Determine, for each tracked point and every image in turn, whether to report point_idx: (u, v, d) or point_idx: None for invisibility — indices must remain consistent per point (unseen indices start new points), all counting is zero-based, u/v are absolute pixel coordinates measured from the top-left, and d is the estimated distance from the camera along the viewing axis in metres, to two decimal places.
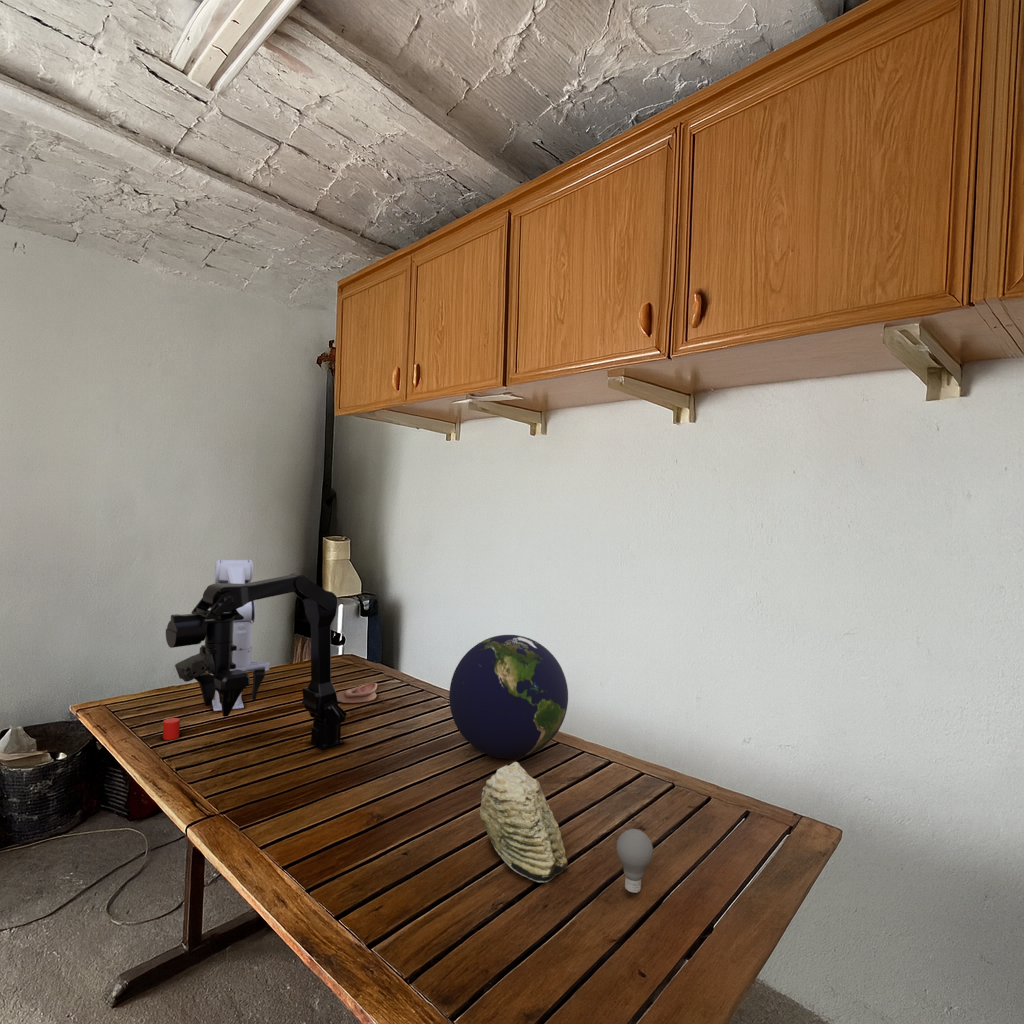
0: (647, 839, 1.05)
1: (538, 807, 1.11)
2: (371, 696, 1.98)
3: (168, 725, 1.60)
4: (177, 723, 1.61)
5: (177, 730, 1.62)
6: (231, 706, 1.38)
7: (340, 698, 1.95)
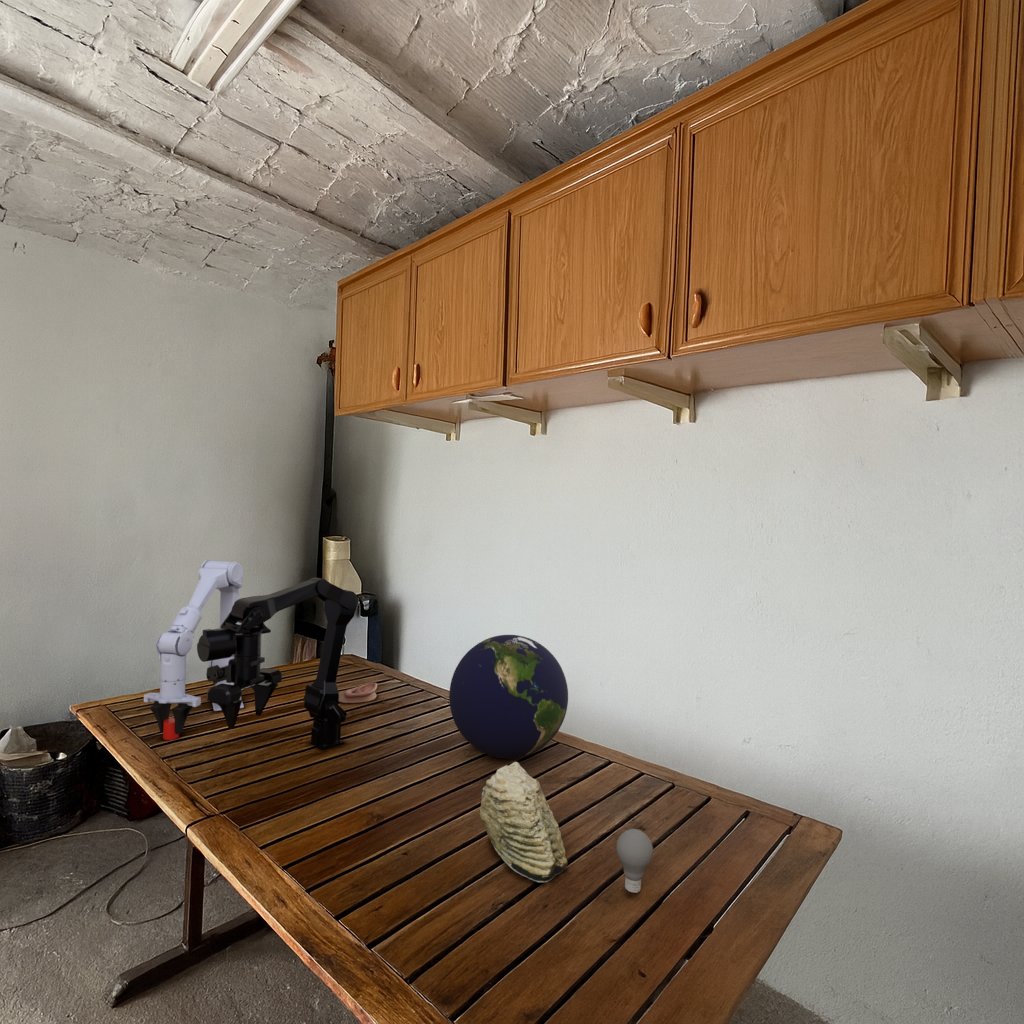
0: (647, 839, 1.05)
1: (538, 807, 1.11)
2: (371, 696, 1.98)
3: (169, 725, 1.60)
4: None
5: None
6: (233, 720, 1.40)
7: (340, 698, 1.95)
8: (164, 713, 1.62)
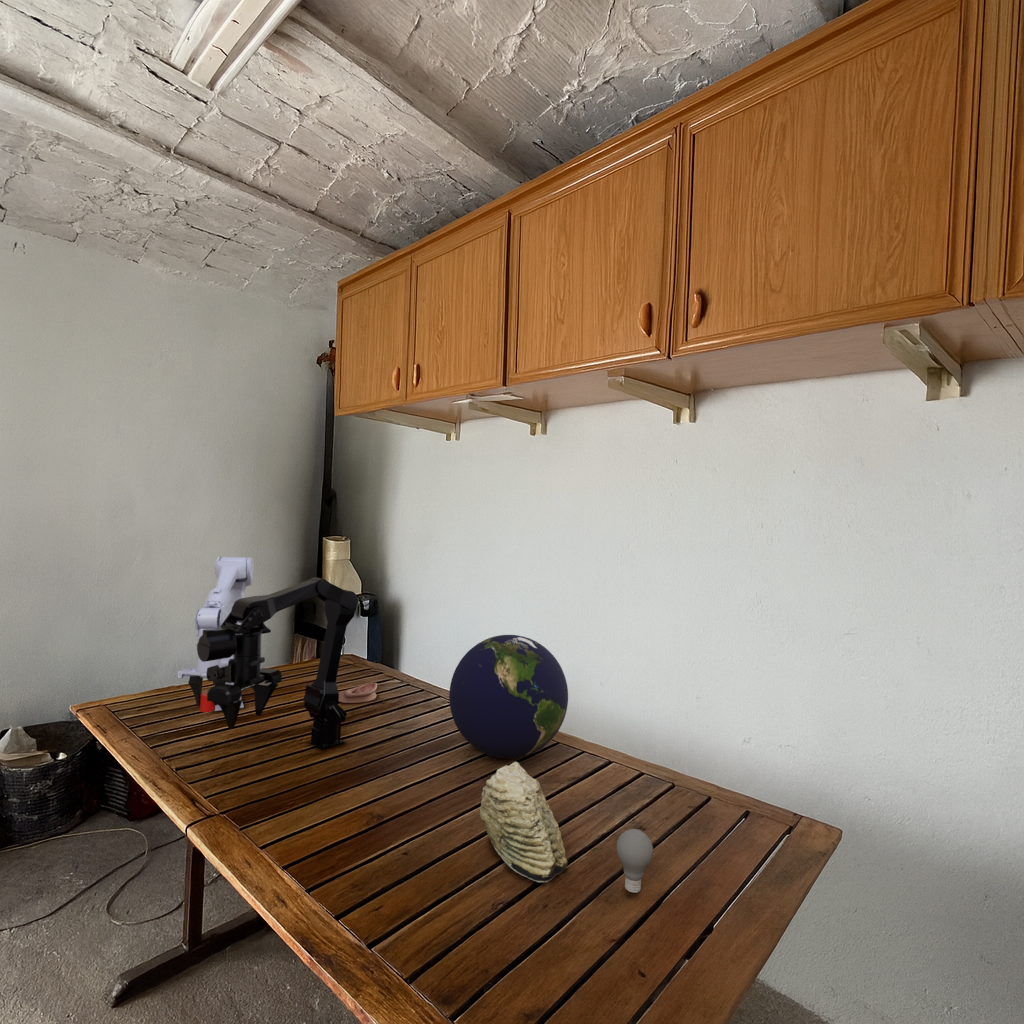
0: (647, 839, 1.05)
1: (538, 807, 1.11)
2: (371, 696, 1.98)
3: None
4: None
5: None
6: (233, 720, 1.40)
7: (340, 698, 1.95)
8: (200, 687, 1.66)
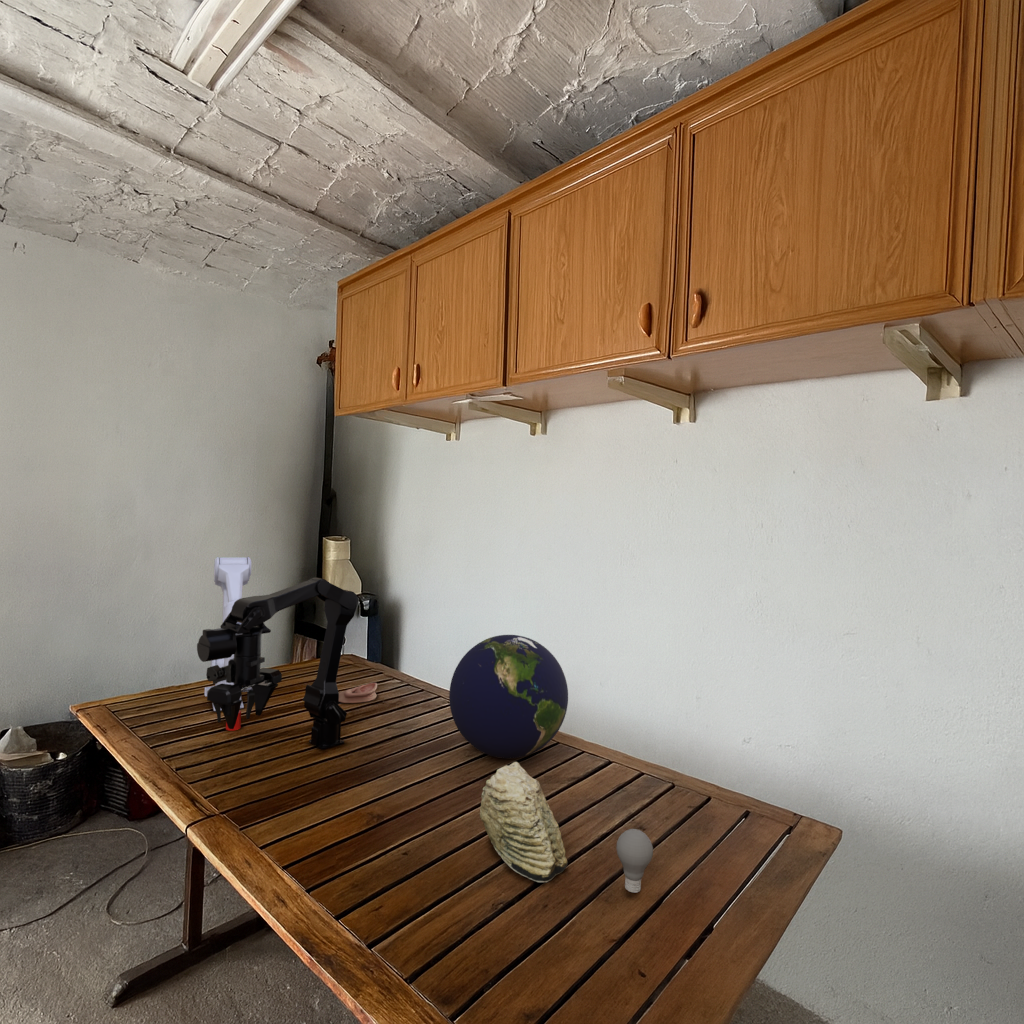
0: (647, 839, 1.05)
1: (538, 807, 1.11)
2: (371, 696, 1.98)
3: None
4: None
5: (240, 720, 1.71)
6: (233, 720, 1.40)
7: (340, 698, 1.95)
8: None
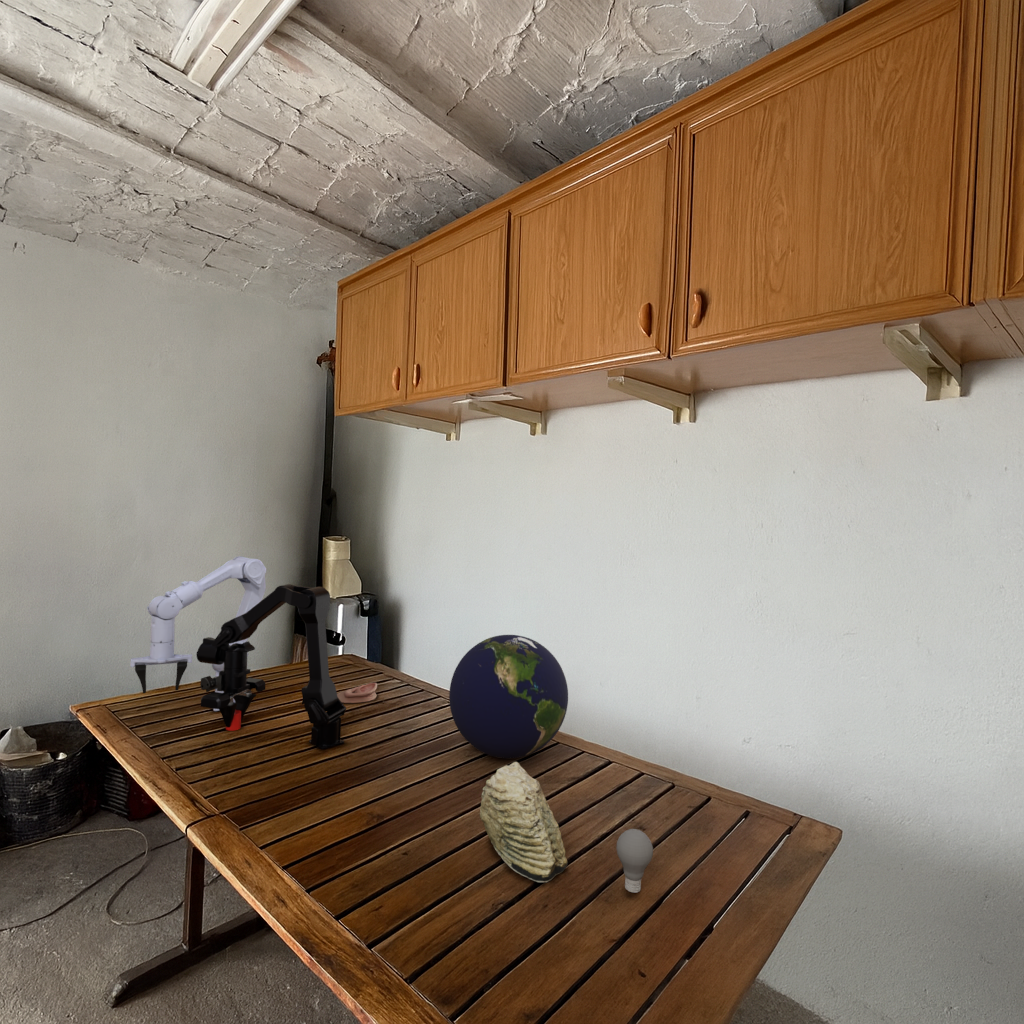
0: (647, 839, 1.05)
1: (538, 807, 1.11)
2: (371, 696, 1.98)
3: (236, 716, 1.69)
4: None
5: (240, 720, 1.71)
6: (229, 720, 1.67)
7: (340, 698, 1.95)
8: (145, 675, 1.70)
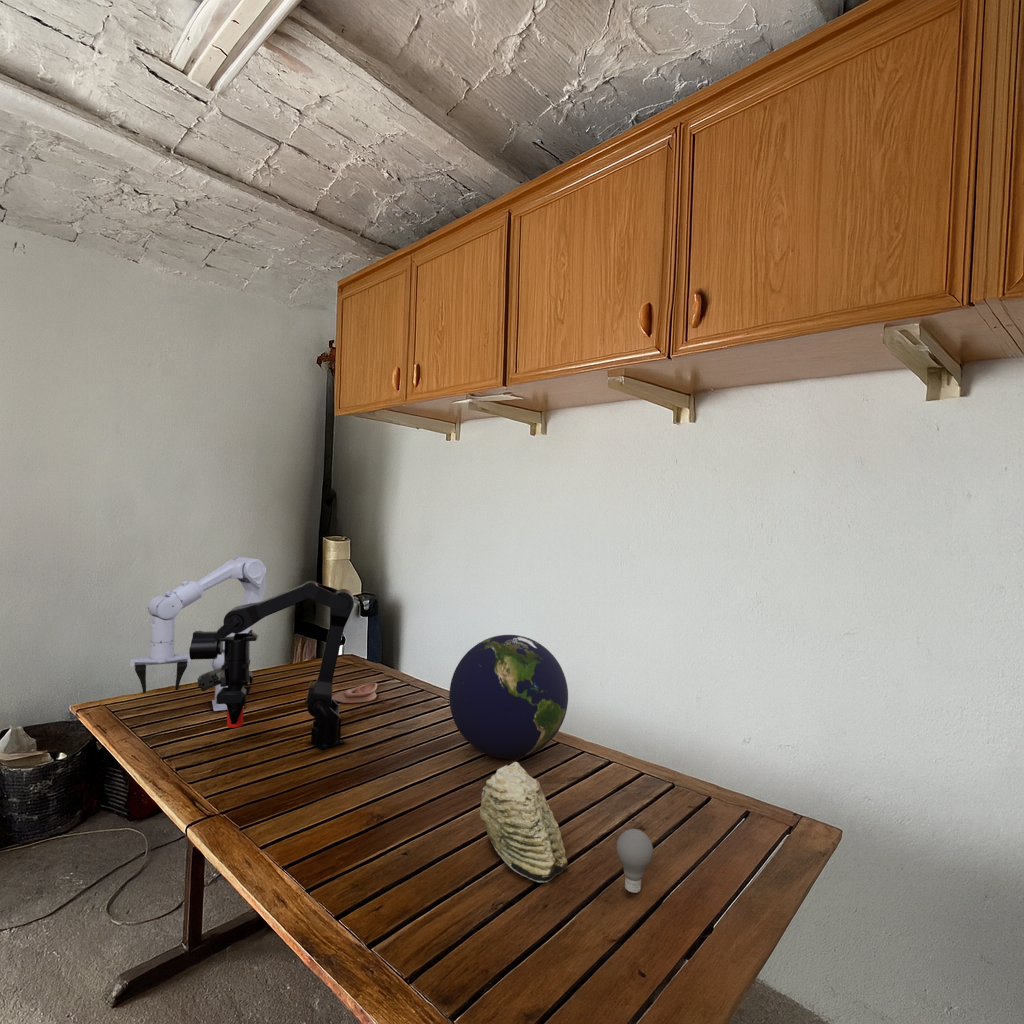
0: (647, 839, 1.05)
1: (538, 807, 1.11)
2: (371, 696, 1.98)
3: (241, 711, 1.56)
4: None
5: None
6: (238, 715, 1.55)
7: (340, 698, 1.95)
8: (145, 675, 1.70)
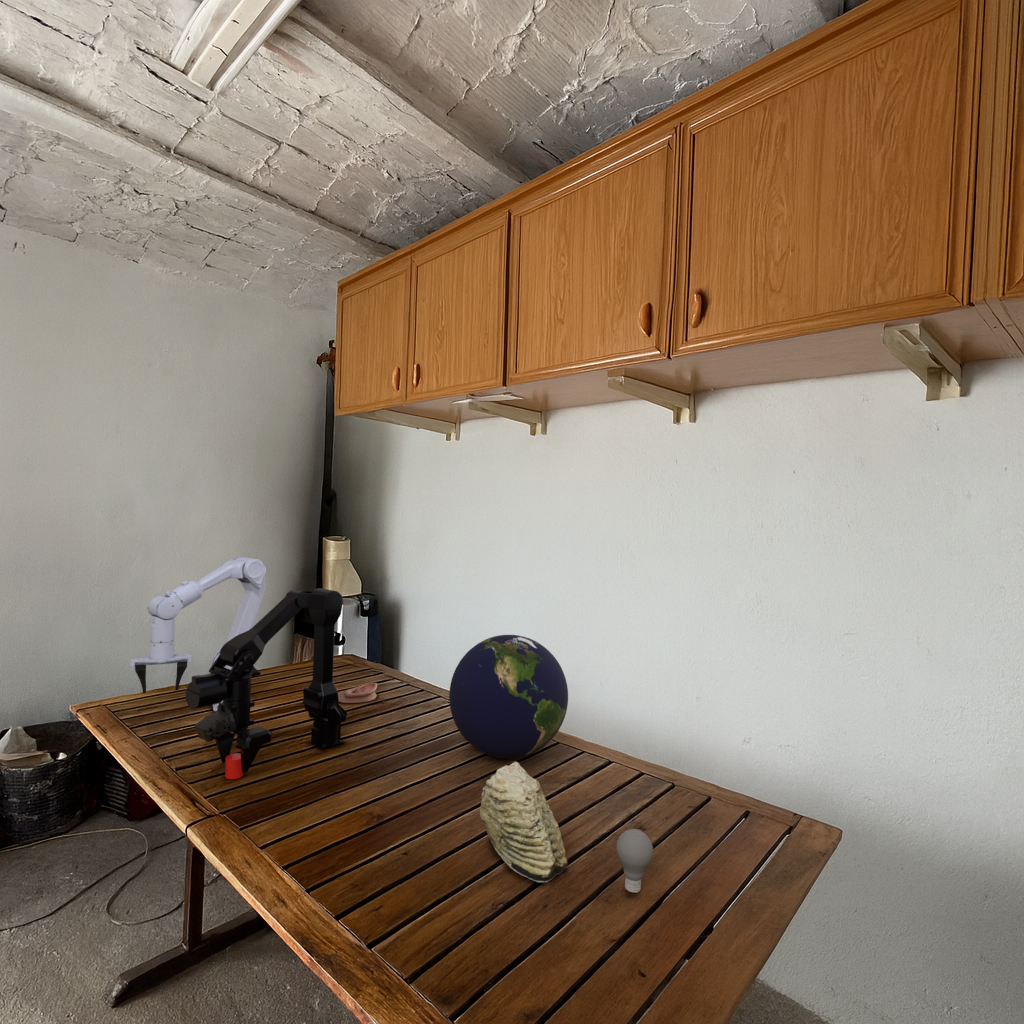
0: (647, 839, 1.05)
1: (538, 807, 1.11)
2: (371, 696, 1.98)
3: None
4: None
5: None
6: (251, 762, 1.40)
7: (340, 698, 1.95)
8: (145, 675, 1.70)
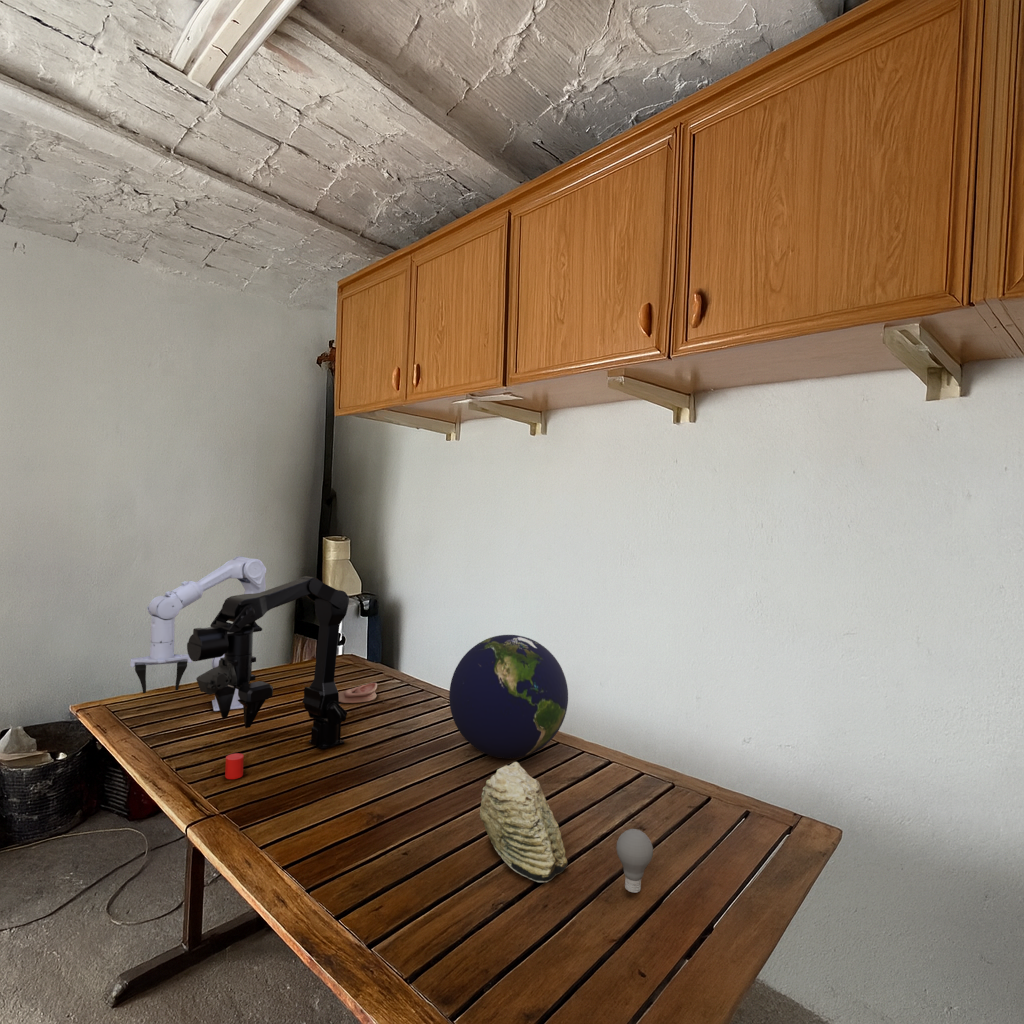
0: (647, 839, 1.05)
1: (538, 807, 1.11)
2: (371, 696, 1.98)
3: (243, 758, 1.43)
4: None
5: None
6: (253, 717, 1.39)
7: (340, 698, 1.95)
8: (145, 675, 1.70)
